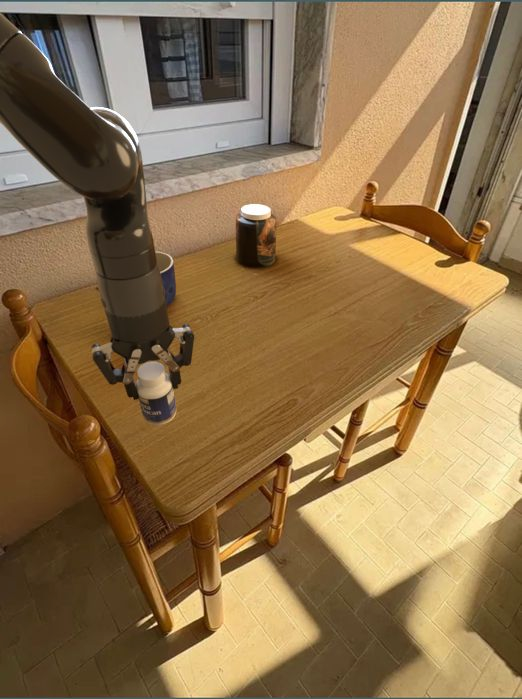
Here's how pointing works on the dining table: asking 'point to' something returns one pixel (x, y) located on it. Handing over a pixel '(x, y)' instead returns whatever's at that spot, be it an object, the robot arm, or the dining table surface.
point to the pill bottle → (155, 393)
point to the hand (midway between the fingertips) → (155, 390)
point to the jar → (255, 236)
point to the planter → (167, 276)
